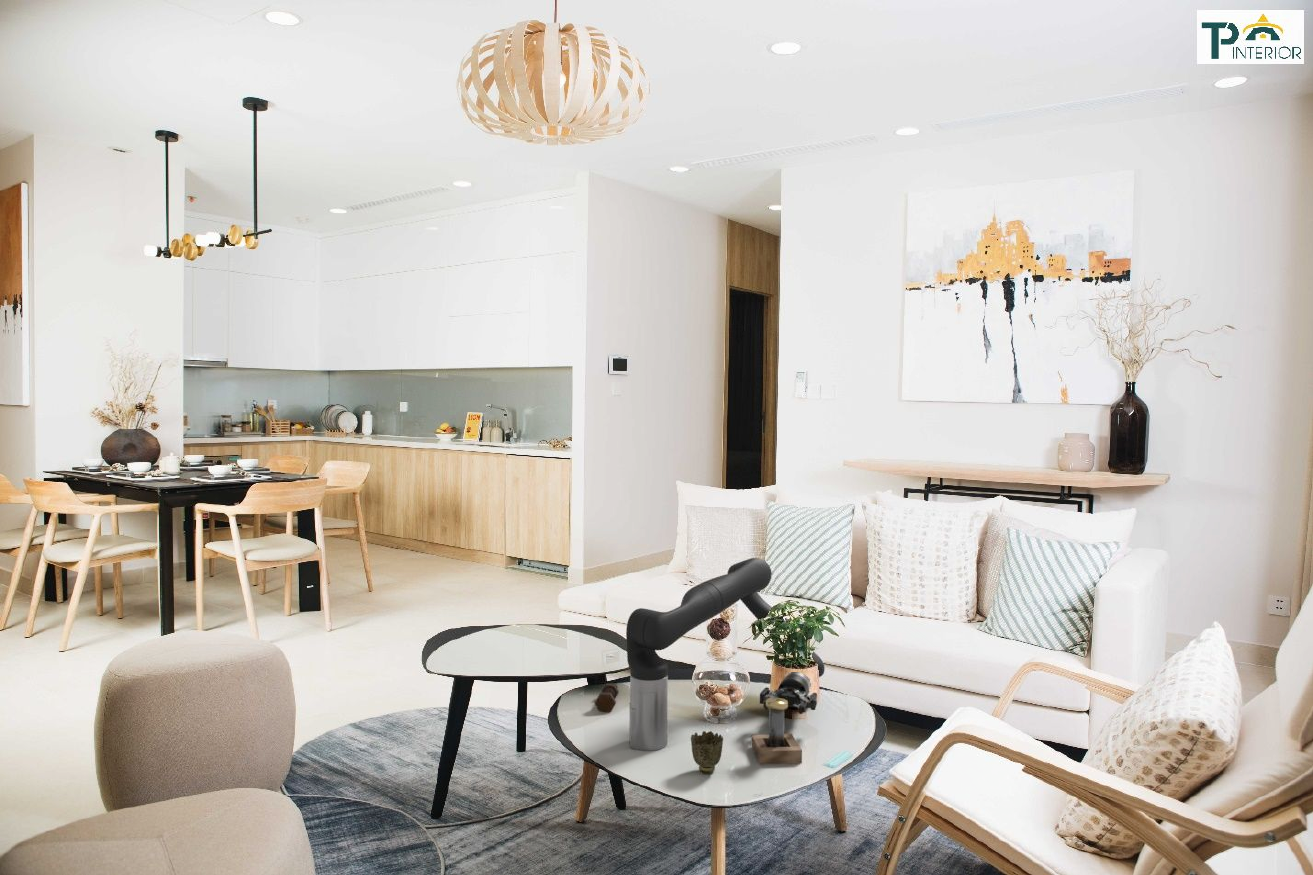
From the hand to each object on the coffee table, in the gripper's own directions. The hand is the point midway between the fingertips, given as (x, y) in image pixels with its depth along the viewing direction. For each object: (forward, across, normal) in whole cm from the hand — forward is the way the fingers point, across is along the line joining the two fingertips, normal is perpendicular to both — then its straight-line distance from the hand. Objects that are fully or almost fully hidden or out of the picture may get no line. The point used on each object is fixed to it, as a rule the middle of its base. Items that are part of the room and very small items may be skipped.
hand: (783, 708), depth 220 cm
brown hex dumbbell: (-12, -51, +9) cm, 53 cm away
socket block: (+8, 0, +8) cm, 12 cm away
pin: (+8, 0, +8) cm, 12 cm away
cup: (+23, -13, +9) cm, 28 cm away
